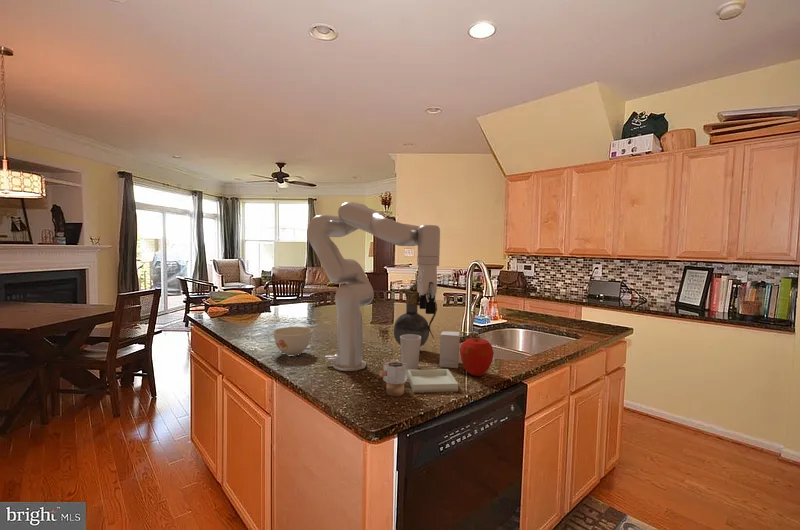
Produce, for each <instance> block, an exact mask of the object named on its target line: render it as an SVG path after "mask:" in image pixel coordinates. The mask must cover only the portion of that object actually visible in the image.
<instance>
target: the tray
mask: <svg viewBox="0 0 800 530" xmlns="http://www.w3.org/2000/svg"><path fill="white" fill-rule="evenodd" d="M407 381H408V382H409V386H410V388H411V391H412V393H446V392H448V393H450V392H459V382H458V381H457V380H456V378H455V377H454V376H453V374H452V373H451V371H450V370H449V369H448V368H439V369H438V368H432V369H429V368H427V369H423V368H422V369H417V370H407Z"/></svg>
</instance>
